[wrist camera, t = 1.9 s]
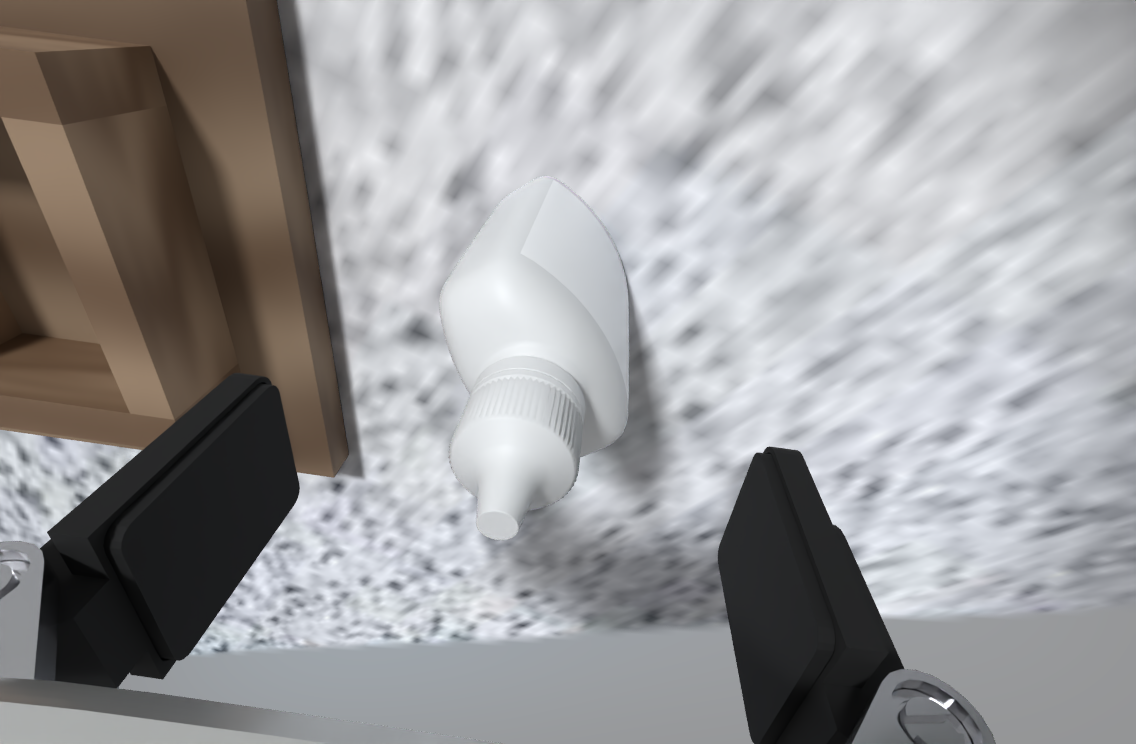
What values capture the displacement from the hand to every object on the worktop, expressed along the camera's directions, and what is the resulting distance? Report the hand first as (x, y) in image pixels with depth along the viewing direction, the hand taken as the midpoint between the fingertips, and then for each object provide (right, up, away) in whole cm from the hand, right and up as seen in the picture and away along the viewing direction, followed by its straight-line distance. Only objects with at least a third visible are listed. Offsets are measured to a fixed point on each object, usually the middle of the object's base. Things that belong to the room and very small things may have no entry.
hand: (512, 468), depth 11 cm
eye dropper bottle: (+1, +6, +8) cm, 10 cm away
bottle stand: (-16, +8, +9) cm, 20 cm away
